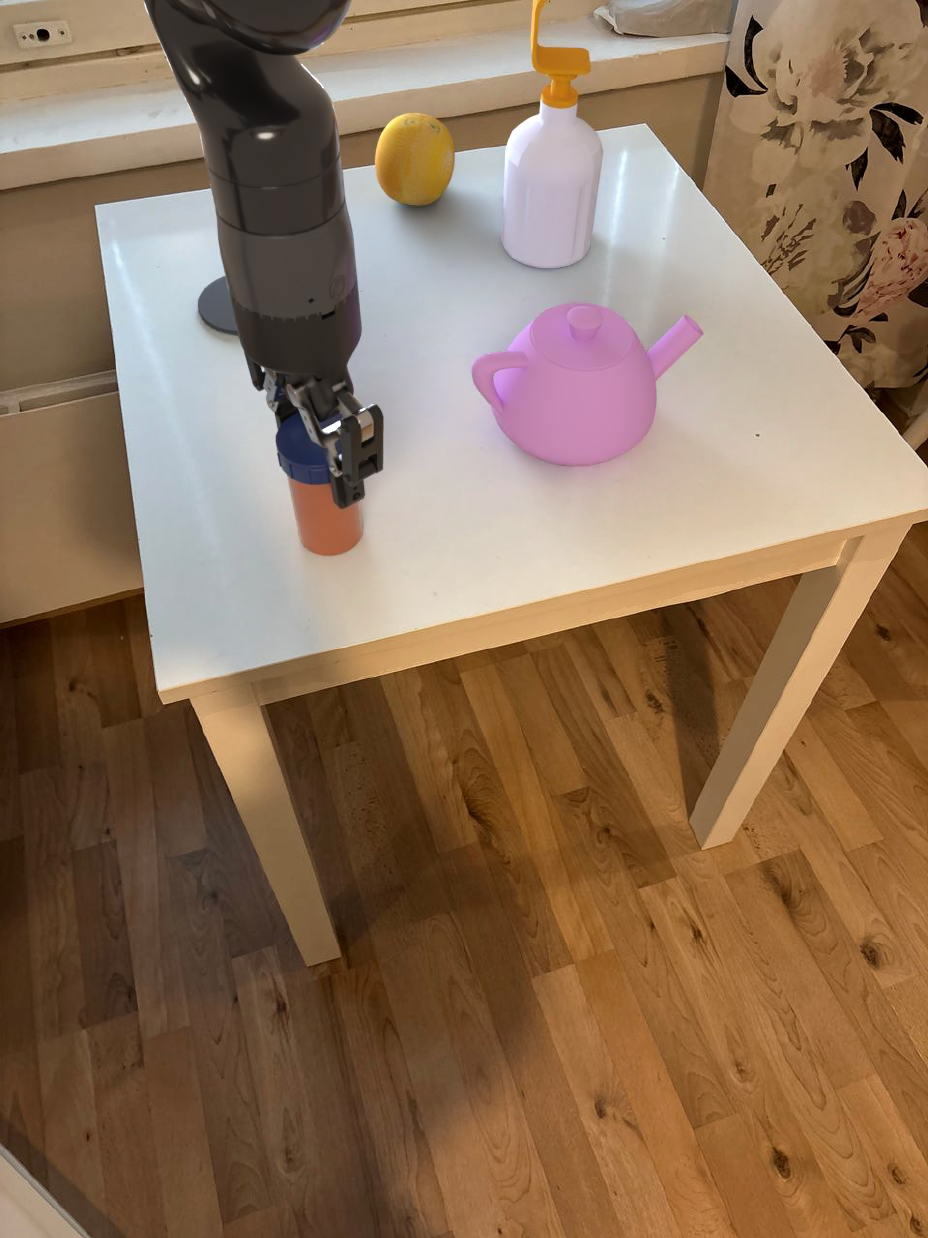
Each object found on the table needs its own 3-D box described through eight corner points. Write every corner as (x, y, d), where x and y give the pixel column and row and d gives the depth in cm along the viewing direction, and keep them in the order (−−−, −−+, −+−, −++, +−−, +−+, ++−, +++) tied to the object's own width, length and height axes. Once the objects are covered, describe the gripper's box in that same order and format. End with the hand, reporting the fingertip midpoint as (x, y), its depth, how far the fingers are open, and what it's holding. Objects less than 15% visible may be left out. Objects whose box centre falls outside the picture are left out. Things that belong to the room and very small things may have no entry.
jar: (300, 559, 72) (282, 471, 65) (297, 510, 75) (279, 420, 67) (365, 552, 73) (355, 464, 65) (360, 503, 76) (350, 413, 68)
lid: (280, 489, 65) (276, 469, 64) (278, 431, 69) (274, 412, 67) (362, 481, 66) (360, 461, 64) (355, 424, 69) (353, 405, 68)
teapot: (720, 445, 80) (753, 342, 71) (498, 500, 76) (504, 399, 67) (649, 343, 87) (672, 239, 79) (443, 389, 83) (443, 285, 75)
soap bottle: (593, 271, 94) (633, -6, 73) (501, 269, 93) (516, -9, 73) (587, 219, 99) (624, -54, 79) (500, 217, 99) (514, -57, 79)
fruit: (453, 221, 98) (453, 145, 92) (375, 219, 98) (369, 143, 92) (455, 174, 103) (455, 99, 97) (381, 172, 103) (376, 97, 97)
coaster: (198, 339, 87) (196, 334, 86) (199, 279, 92) (198, 274, 92) (296, 330, 88) (296, 326, 87) (292, 271, 93) (292, 267, 92)
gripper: (173, 236, 57) (226, 439, 71) (304, 363, 50) (335, 559, 64) (280, 193, 60) (312, 397, 73) (417, 309, 53) (424, 508, 67)
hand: (322, 472), depth 69 cm, fingers open, 6 cm apart
